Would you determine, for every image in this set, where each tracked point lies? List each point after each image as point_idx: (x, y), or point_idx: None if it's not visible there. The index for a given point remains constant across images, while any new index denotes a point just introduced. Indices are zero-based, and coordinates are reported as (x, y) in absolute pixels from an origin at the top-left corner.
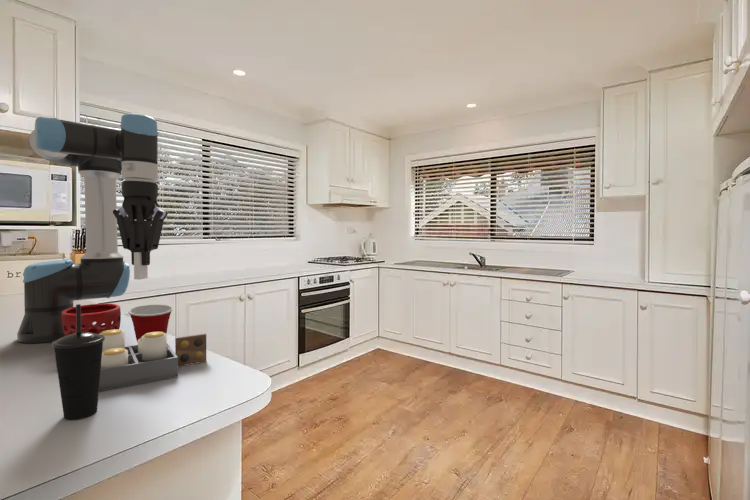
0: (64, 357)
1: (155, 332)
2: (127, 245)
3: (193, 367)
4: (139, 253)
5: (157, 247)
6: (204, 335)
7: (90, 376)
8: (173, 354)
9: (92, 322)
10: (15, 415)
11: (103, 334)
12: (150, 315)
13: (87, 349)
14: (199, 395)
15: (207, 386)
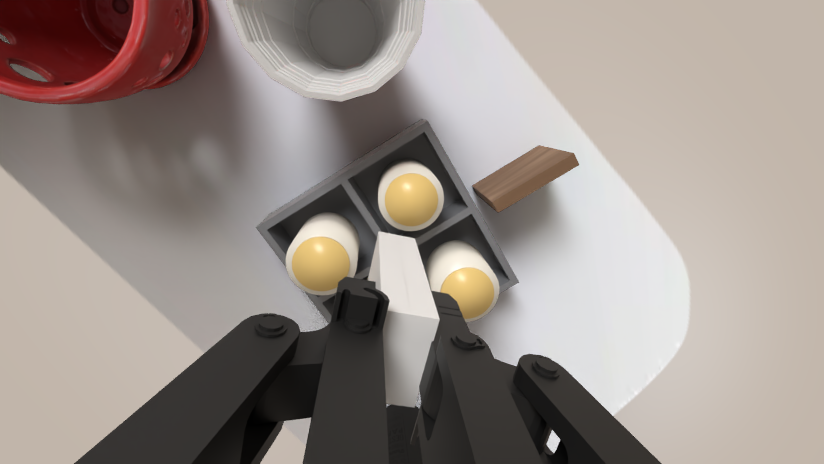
0: None
1: (465, 279)
2: (278, 433)
3: (521, 201)
4: (412, 400)
5: (562, 374)
6: (572, 166)
7: None
8: (500, 259)
9: (130, 88)
10: (297, 423)
11: (310, 287)
12: (366, 91)
13: None
14: (572, 356)
15: (579, 317)
